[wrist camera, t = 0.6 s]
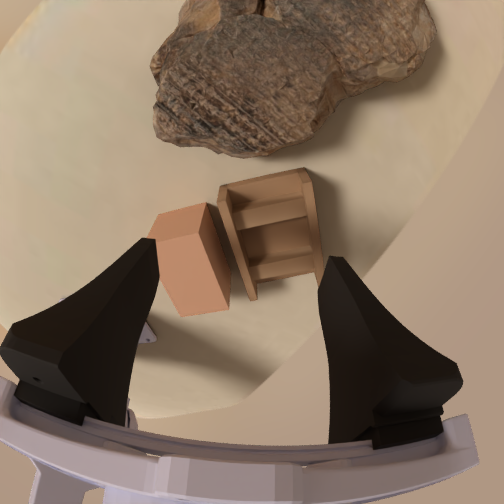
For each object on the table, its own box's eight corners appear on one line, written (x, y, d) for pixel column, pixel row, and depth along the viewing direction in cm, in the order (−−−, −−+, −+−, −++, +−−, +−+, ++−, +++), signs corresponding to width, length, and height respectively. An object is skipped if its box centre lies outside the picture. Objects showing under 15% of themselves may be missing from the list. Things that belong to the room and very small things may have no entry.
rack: (319, 264, 26) (325, 286, 23) (249, 278, 26) (250, 301, 24) (304, 167, 21) (311, 181, 18) (220, 186, 21) (216, 202, 19)
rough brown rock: (245, 193, 22) (440, 39, 14) (243, 225, 18) (479, 40, 10) (107, 73, 17) (311, -94, 8) (71, 78, 12) (323, -124, 4)
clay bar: (231, 272, 26) (229, 309, 22) (188, 280, 27) (180, 317, 23) (206, 201, 22) (198, 232, 19) (158, 213, 23) (142, 245, 19)
